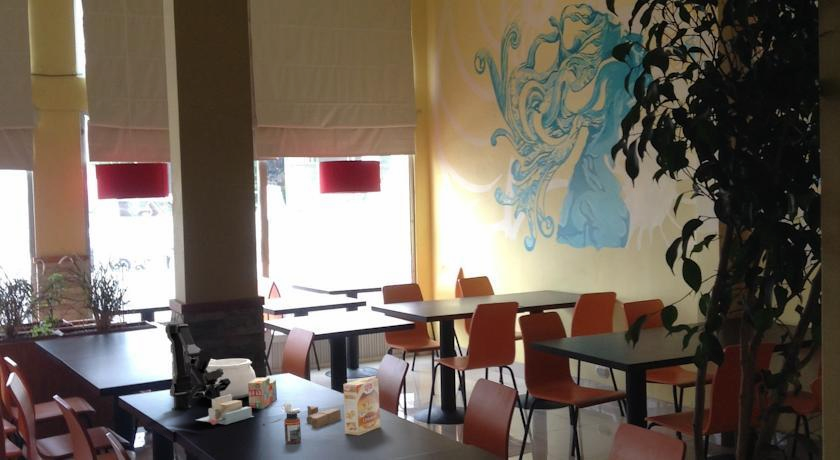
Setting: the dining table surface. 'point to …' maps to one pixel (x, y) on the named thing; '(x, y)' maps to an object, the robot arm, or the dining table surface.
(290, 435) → the supplement bottle
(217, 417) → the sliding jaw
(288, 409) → the teacup and saucer
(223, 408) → the beech block
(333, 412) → the wooden block set
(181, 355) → the robot arm
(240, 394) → the pot
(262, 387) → the stack of blocks
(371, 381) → the coffeecake box
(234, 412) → the pale blue base plate
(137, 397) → the dining table surface
